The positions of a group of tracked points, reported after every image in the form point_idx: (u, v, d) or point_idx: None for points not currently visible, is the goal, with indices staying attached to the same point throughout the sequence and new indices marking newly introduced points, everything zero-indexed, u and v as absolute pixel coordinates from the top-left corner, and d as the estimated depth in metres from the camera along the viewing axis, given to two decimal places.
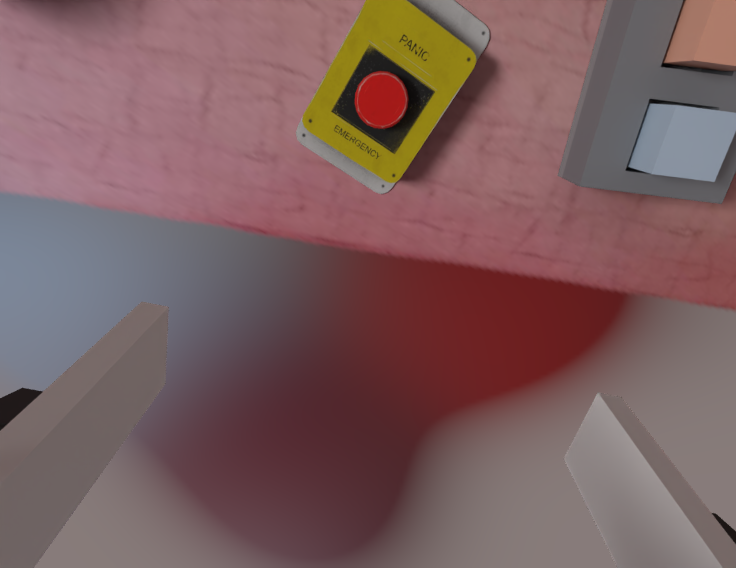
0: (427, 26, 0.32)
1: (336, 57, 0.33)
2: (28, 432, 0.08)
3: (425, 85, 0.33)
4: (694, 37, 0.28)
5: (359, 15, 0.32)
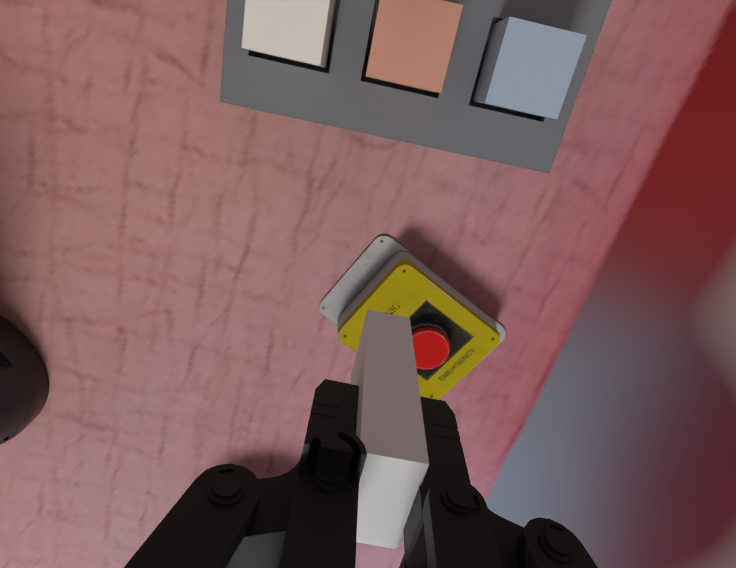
0: (372, 303, 0.36)
1: None
2: (379, 411, 0.11)
3: (419, 307, 0.37)
4: (417, 87, 0.26)
5: None
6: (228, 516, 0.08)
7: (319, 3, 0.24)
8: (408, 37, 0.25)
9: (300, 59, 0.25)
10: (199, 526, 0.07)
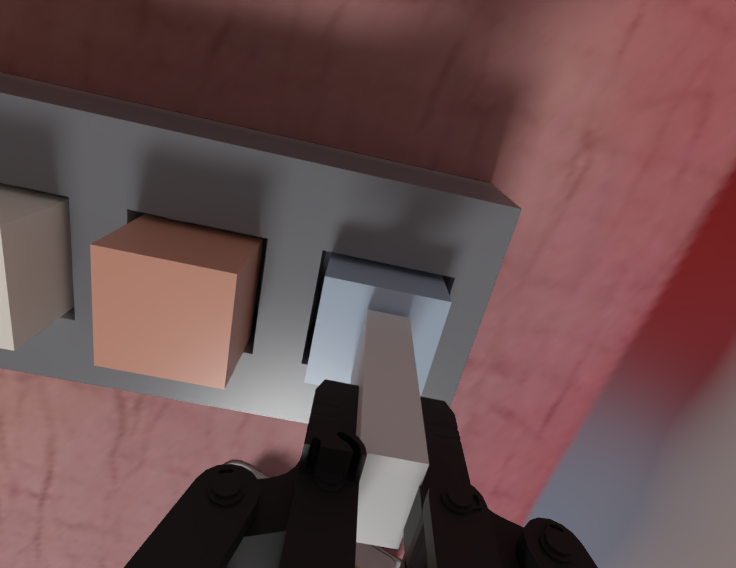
0: None
1: None
2: (379, 411, 0.11)
3: None
4: None
5: None
6: (228, 516, 0.08)
7: None
8: (154, 317, 0.14)
9: None
10: (199, 526, 0.07)
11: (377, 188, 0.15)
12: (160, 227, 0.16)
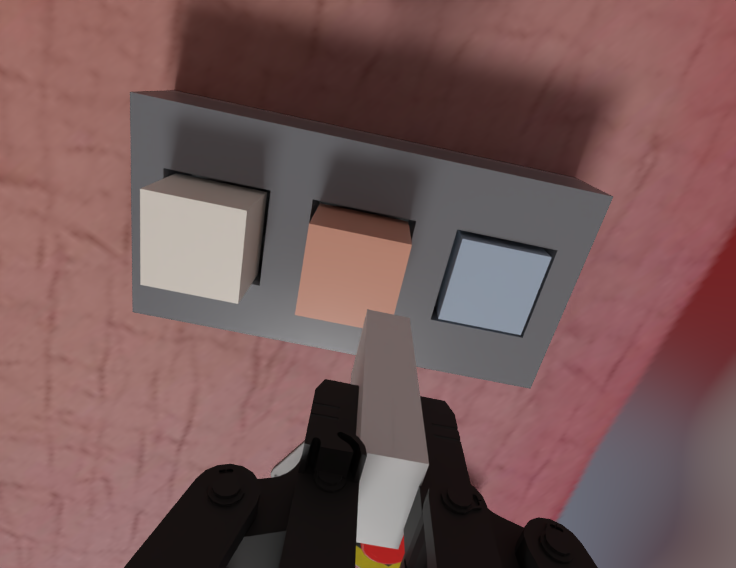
0: None
1: None
2: (379, 411, 0.11)
3: None
4: None
5: None
6: (228, 516, 0.08)
7: (231, 241, 0.19)
8: (345, 277, 0.20)
9: (213, 297, 0.20)
10: (199, 526, 0.07)
11: (504, 182, 0.21)
12: (338, 212, 0.21)
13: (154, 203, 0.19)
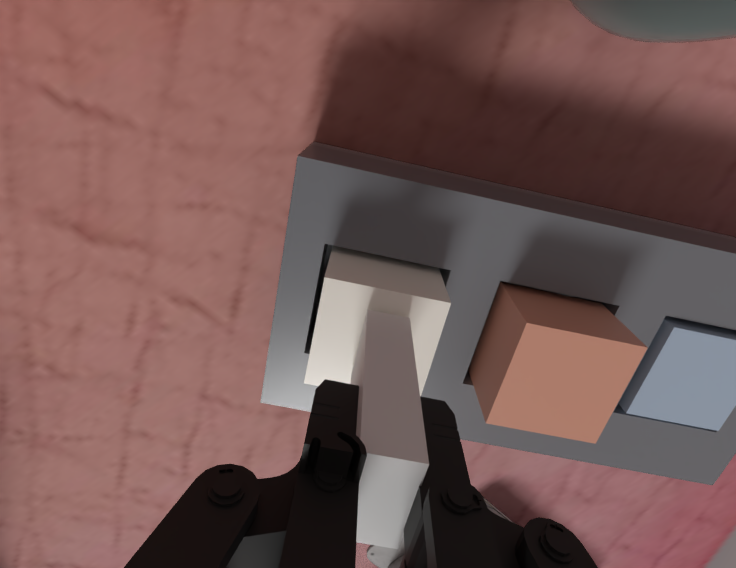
0: None
1: None
2: (379, 411, 0.11)
3: None
4: None
5: None
6: (228, 516, 0.08)
7: (425, 336, 0.16)
8: (557, 382, 0.16)
9: None
10: (199, 526, 0.07)
11: (733, 263, 0.17)
12: (531, 297, 0.18)
13: (339, 294, 0.15)
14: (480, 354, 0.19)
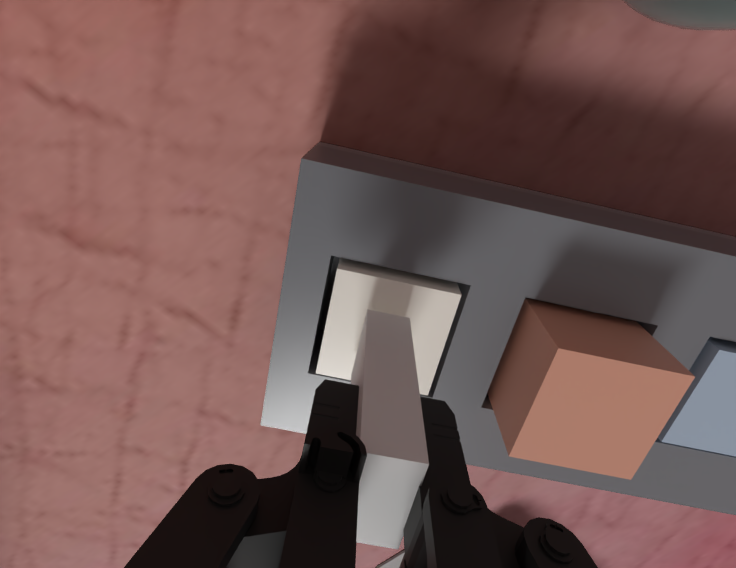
0: None
1: None
2: (379, 411, 0.11)
3: None
4: None
5: None
6: (228, 516, 0.08)
7: (435, 327, 0.16)
8: (591, 414, 0.14)
9: None
10: (199, 526, 0.07)
11: None
12: (559, 315, 0.16)
13: (351, 285, 0.16)
14: (500, 376, 0.17)
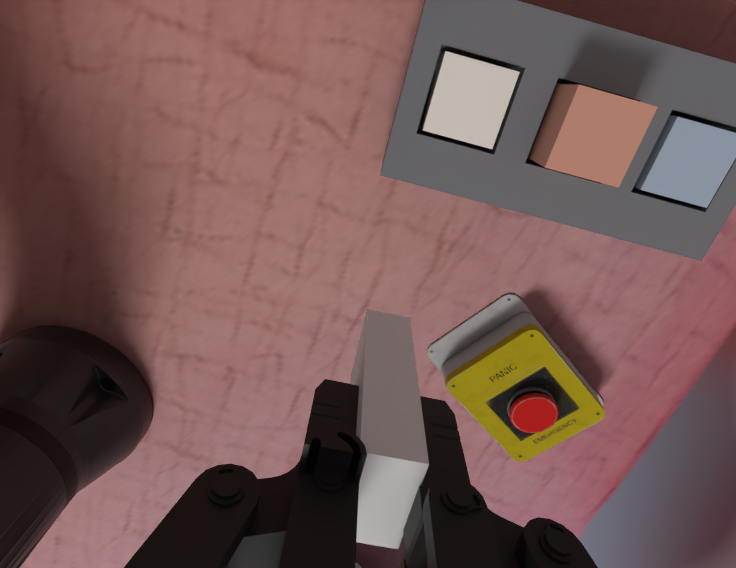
0: (491, 360, 0.36)
1: (483, 426, 0.39)
2: (379, 411, 0.11)
3: (536, 372, 0.36)
4: None
5: (461, 403, 0.38)
6: (228, 516, 0.08)
7: (501, 96, 0.26)
8: (596, 134, 0.25)
9: (475, 143, 0.27)
10: (199, 526, 0.07)
11: (721, 67, 0.25)
12: None
13: (452, 63, 0.26)
14: (539, 139, 0.27)
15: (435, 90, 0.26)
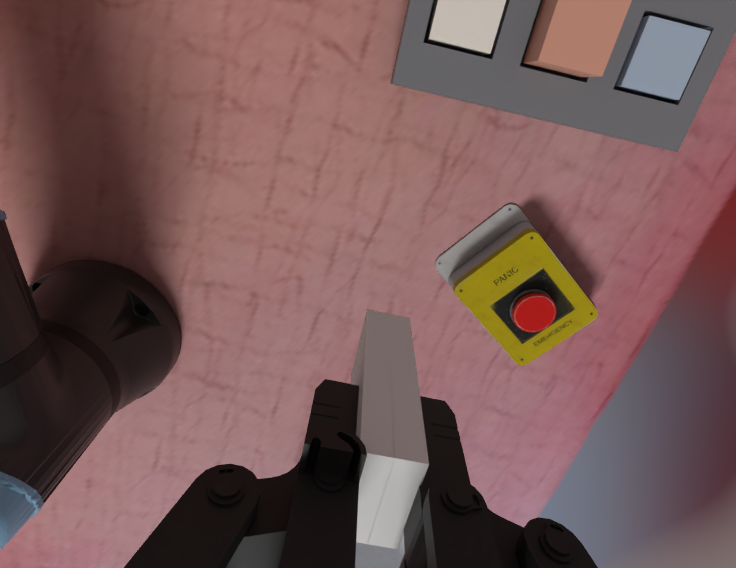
0: (495, 263, 0.40)
1: (488, 330, 0.43)
2: (379, 411, 0.11)
3: (535, 273, 0.40)
4: (578, 72, 0.30)
5: (468, 307, 0.42)
6: (228, 516, 0.08)
7: (497, 3, 0.30)
8: (580, 27, 0.28)
9: (475, 48, 0.31)
10: (199, 526, 0.07)
11: None
12: None
13: None
14: (531, 42, 0.31)
15: (439, 0, 0.30)
